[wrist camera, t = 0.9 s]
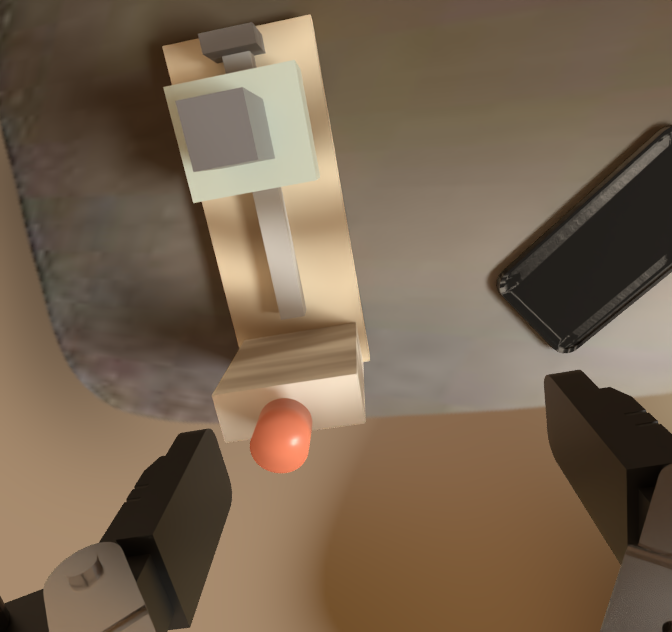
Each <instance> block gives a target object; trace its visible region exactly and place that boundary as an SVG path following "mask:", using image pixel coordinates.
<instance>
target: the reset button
mask: <svg viewBox="0 0 672 632" xmlns="http://www.w3.org/2000/svg"><path fill="white" fill-rule="evenodd" d="M311 431H312V417H311V414H310V412H309V410H308V409H307V408H306V407H305V406H304V405H303V404H302V403H300V402H298V401H296V400H293V399H289V398H280V399H276V400H273V401H271V402H269V403H268V404H267V405H265V407H264V408H263V409H262V411H261V413H260V416H259V418H258V421H257V424H256V427H255V429H254V432H253V435H252V438H251V441H250V451H251V454H252V457H253V458H254V460H255V461H256V463H257V464H258V465H260V466H261V467H262V468H264V469H266V470H268V471H271V472H274V473H287V472H291V471H294V470H296V469H297V468H299V467H300V466H301V465H302V464H303V463H304V461H305V460H306V458H307V456H308V451H309V444H310V438H311Z"/></svg>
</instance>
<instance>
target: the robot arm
mask: <svg viewBox="0 0 672 632" xmlns="http://www.w3.org/2000/svg"><path fill="white" fill-rule="evenodd" d="M544 391H545V404H546V418H547V431H548V439H549V443H550V447H551V450H552V453H553V455H554V458H555V460H556V462H557V463H558V465H559V466H560V468H561V470H562V471H563V473H564V475H565V476H566V478H567V479H568V481H569V483H570V484H571V485H572V487H573V489H574V491H575V492H576V494H577V495H578V497H579V499H580V500H581V502H582V503H583V505H584V507H585V508H586V510H587V511H588V513H589V515H590V516H591V518H592V519H593V521H594V523H595V524H596V526H597V528H598V529H599V531H600V532H601V534H602V536H603V537H604V539H605V540H606V542H607V544H608V545H609V547H610V548H611V550H612V551H613V553H614V554H615V556H616V558H617V560H618V561H619V563H620V564H621V568H620V571H619V574H618V577H617V580H616V583H615V586H614V589H613V593H612V596H611V599H610V602H609V605H608V608H607V611H606V615H605V618H604V621H603V624H602V627H601V630H600V632H672V434H671V433H670V432H669V431H668V430H667V429H666V428H665V427H663V426H662V425H661V424H658V421H657V420H656V419H655V418H654V417H653V416H652V415H651V414H650V413H647V412H646V410H645V409H644V408H643V407H642V406H641V405H640V404H639V403H638V402H637V401H636V400H635V399H634V398H633V397H631V396H629V395H627V394H624V393H622V392H620V391H618V390H616V389H613V388H611V387H607V388H600V389H599V388H598V387H597V386H596V385H595V384H594V383H593V382H592V381H591V380H590V379H589V378H588V377H587V375H586V374H585V373H584V372H582V371H581V370H575V371H569V372H562V373H556V374H550V375H546V376H545V379H544ZM231 501H232V490H231V483H230V479H229V476H228V473H227V470H226V466H225V464H224V460H223V457H222V454H221V451H220V448H219V445H218V442H217V439H216V436H215V434H214V432H213V431H212V430H211V429H203V430H197V431H190V432H185V433H180V434H179V435H178V436H177V437H176V439H175V441H174V442H173V444H172V446H171V448H170V449H169V451H168V453H167V454H166V456H161V457H159V458H158V459H157V460H156V461H155V462H154V463H153V464H152V465H150V466H149V467H148V468H147V469H146V470H145V471H144V472H143V474H142V475H141V477H140V478H139V480H138V482H137V483H136V485H135V489H133V490H132V491H131V493H130V494H129V496H128V498H127V502H125V503H124V504H123V505H122V507H121V509H120V510H119V512H118V514H117V515H116V516H115V518H114V520H113V521H112V523H111V525H110V526H109V528H108V529H107V531H106V532H105V534H104V536H103V537H102V539H101V540H100V542H99V543H97V544H93V545H90V546H88V547H85V548H83V549H81V550H79V551H77V552H75V553H74V554H72V555H71V556H69V557H68V558H66V559H65V560H64V561H63V562H62V563H60V564H59V565H58V566H57V567H56V568H55V569H54V571H53V572H52V573H51V574H50V576H49V577H48V579H47V581H46V583H45V585H44V589H42V590H39V591H36V592H34V593H31V594H28V595H26V596H23V597H20V598H18V599H15V600H12V601H10V602H7V603H4V602H3V600H2V599H1V597H0V632H167V631H168V630H173V629H181V628H189V627H190V626H191V623H192V620H193V617H194V614H195V611H196V608H197V605H198V602H199V599H200V596H201V593H202V590H203V587H204V584H205V581H206V578H207V575H208V572H209V569H210V566H211V563H212V560H213V557H214V554H215V551H216V548H217V545H218V543H219V540H220V536H221V533H222V531H223V528H224V525H225V522H226V519H227V516H228V513H229V510H230V506H231Z"/></svg>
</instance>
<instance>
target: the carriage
mask: <svg viewBox="0 0 672 632" xmlns="http://www.w3.org/2000/svg"><path fill="white" fill-rule="evenodd" d="M163 89H164V92H165V96H166V100H167V104H168V108H169V112H170V116H171V119H172V123H173V127H174V131H175V135H176V139H177V142H178V146H179V150H180V154H181V158H182V162H183V165H184V169H185V173H186V177H187V181H188V185H189V188H190V192H191V196H192V200H193V203H196V202H202V201H207V200H213V199H218V198H223V197H229V196H234V195H240V194H245V193H250V192H256V191H261V190H267V189H272V188H277V187H283V186H288V185H294V184H299V183H304V182H310V181H315V180H318V179H319V178H320V173H319V167H318V162H317V156H316V151H315V145H314V140H313V134H312V129H311V123H310V118H309V112H308V107H307V101H306V96H305V90H304V85H303V79H302V74H301V69H300V67H299V66H298V64H297V63H296V61H295V60H291V61H286V62H282V63H277V64H272V65H267V66H262V67H257V68H253V69H248V70H243V71H238V72H233V73H229V74H224V75H219V76H214V77H209V78H204V79H200V80H195V81H190V82H185V83H180V84H175V85H171V86H166V87H163Z"/></svg>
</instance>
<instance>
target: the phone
mask: <svg viewBox="0 0 672 632" xmlns="http://www.w3.org/2000/svg"><path fill="white" fill-rule="evenodd" d="M671 272H672V125H671V126H667V127H664V128H662V129H661V130H659V131H658V132H657V133H655V134H654V135H653V136H652V137H651V138H650V139H649V140H648V141H647V142H645V143H644V144H643V145H642V146H641V147H640V148H639V149H638V150H637V151H635V152H634V153H633V154H632V155H631V156H630V157H629V158H628V159H627V160H625V161H624V162H623V163H622V164H621V165H620V166H619V167H618V168H617V169H616V170H614V171H613V172H612V173H611V174H610V175H609V176H608V177H607V178H606V179H604V180H603V181H602V182H601V183H600V184H599V185H598V186H597V187H596V188H594V189H593V190H592V191H591V192H590V193H589V194H588V195H587V196H586V197H584V198H583V199H582V200H581V201H580V202H579V203H578V204H577V205H576V206H574V207H573V208H572V209H571V210H570V211H569V212H568V213H567V214H566V215H565V216H563V217H562V218H561V219H560V220H559V221H558V222H557V223H556V224H555V225H553V226H552V227H551V228H550V229H549V230H548V231H547V232H546V233H545V234H543V235H542V236H541V237H540V238H539V239H538V240H537V241H536V242H535V243H533V244H532V245H531V246H530V247H529V248H528V249H527V250H526V251H525V252H524V253H522V254H521V255H520V256H519V257H518V258H517V259H516V260H515V261H514V262H512V263H511V264H510V265H509V266H508V267H507V268H506V269H505V270H504V271H502V273H501V274H500V275H499V277H498V279H497V289H498V291H499V293H500V294H501V295H502V296H503V297H504V298H505V299H506V300H507V301H508V302H509V303H510V304H511V305H512V306H513V308H514V309H515V310H516V311H517V312H518V313H519V314H520V315H521V316H522V317H523V318H524V319H525V320H526V321H527V322H528V323H529V324H530V325H531V326H532V327H533V328H534V329H535V330H536V331H537V332H538V333H539V334H540V335H541V336H542V337H543V338H544V339H545V340H546V341H547V343H548V344H549V345H550V346H551V347H552V348H553V349H555V350H556V351H557V352H560V353H570V352H573V351H575V350H576V349H578V348H579V347H580V346H582V345H583V344H584V343H585V342H586V341H588V340H589V339H590V338H591V337H593V336H594V335H595V334H596V333H597V332H599V331H600V330H601V329H602V328H604V327H605V326H606V325H607V324H608V323H610V322H611V321H612V320H613V319H615V318H616V317H617V316H618V315H619V314H621V313H622V312H623V311H624V310H626V309H627V308H628V307H629V306H630V305H632V304H633V303H634V302H635V301H637V300H638V299H639V298H640V297H642V296H643V295H644V294H645V293H646V292H648V291H649V290H650V289H651V288H653V287H654V286H655V285H656V284H657V283H659V282H660V281H661V280H662V279H664V278H665V277H666V276H667V275H668V274H670V273H671Z"/></svg>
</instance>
